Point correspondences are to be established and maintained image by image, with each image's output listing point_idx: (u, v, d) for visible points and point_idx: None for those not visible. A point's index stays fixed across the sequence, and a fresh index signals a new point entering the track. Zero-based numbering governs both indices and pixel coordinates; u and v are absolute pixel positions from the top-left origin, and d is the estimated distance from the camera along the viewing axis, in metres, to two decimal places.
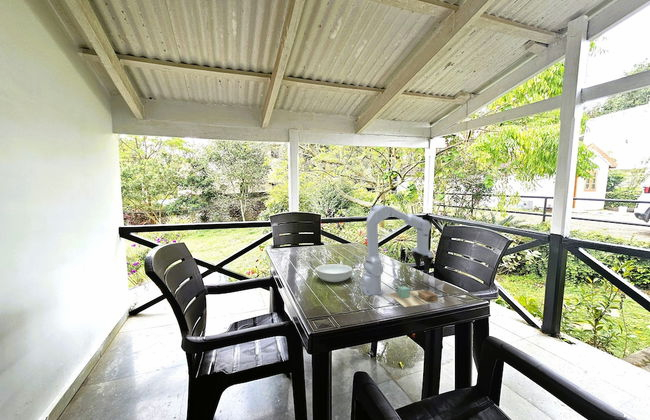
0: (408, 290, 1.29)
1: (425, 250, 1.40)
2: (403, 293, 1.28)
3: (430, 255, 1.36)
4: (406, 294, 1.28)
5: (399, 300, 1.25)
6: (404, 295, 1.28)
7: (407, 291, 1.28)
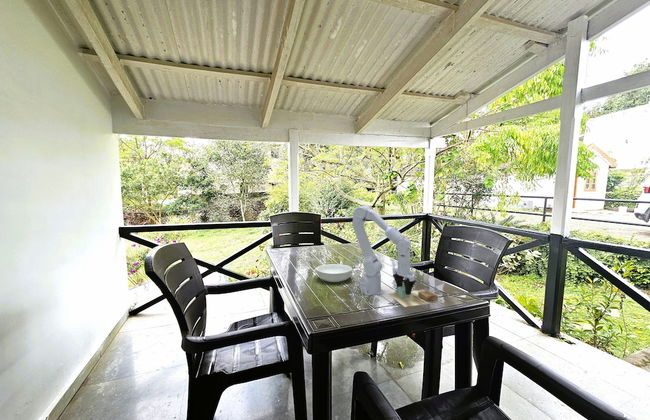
0: None
1: (406, 272, 1.27)
2: (403, 293, 1.28)
3: (411, 279, 1.23)
4: None
5: (399, 300, 1.25)
6: (404, 295, 1.28)
7: None
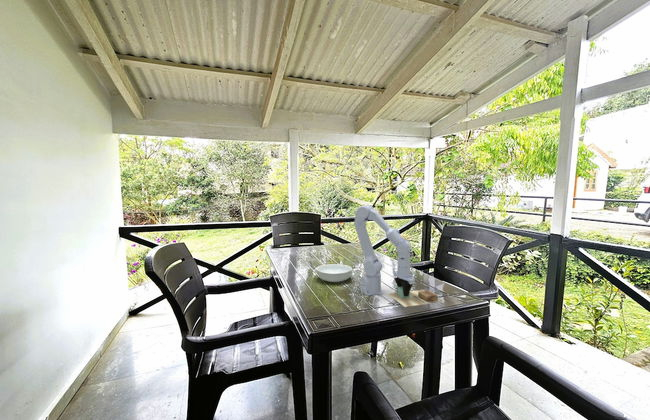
0: None
1: (406, 275, 1.27)
2: None
3: (411, 282, 1.23)
4: None
5: (399, 300, 1.25)
6: None
7: None
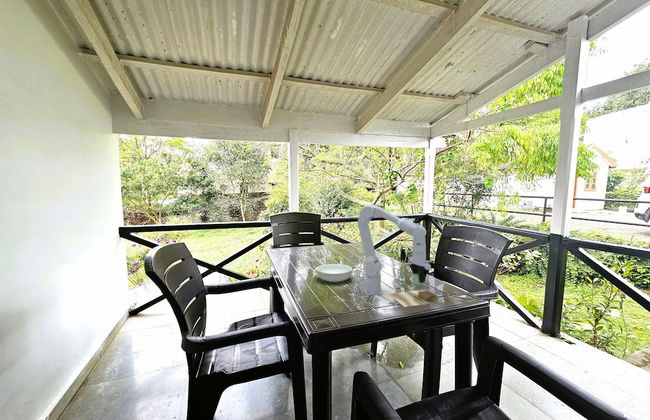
0: None
1: (422, 261, 1.24)
2: (418, 279, 1.25)
3: (428, 267, 1.20)
4: None
5: (399, 300, 1.25)
6: None
7: None
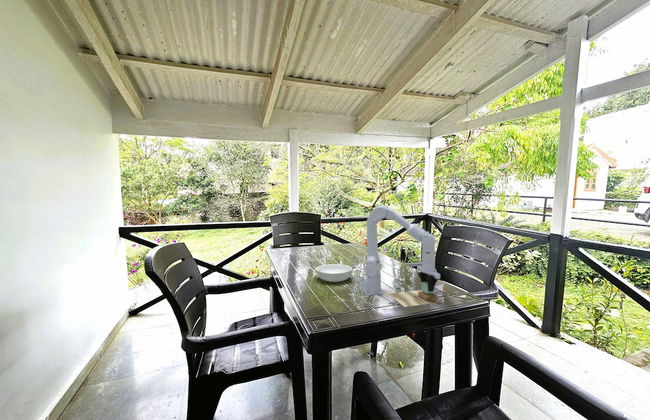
0: None
1: (431, 270, 1.23)
2: (427, 288, 1.24)
3: (437, 276, 1.19)
4: None
5: (399, 300, 1.25)
6: (428, 290, 1.24)
7: None
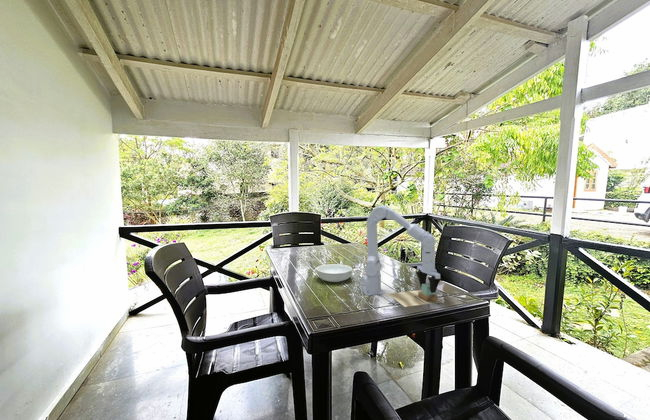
0: None
1: (431, 270, 1.23)
2: (427, 290, 1.24)
3: (437, 276, 1.19)
4: None
5: (399, 300, 1.25)
6: (429, 292, 1.24)
7: None
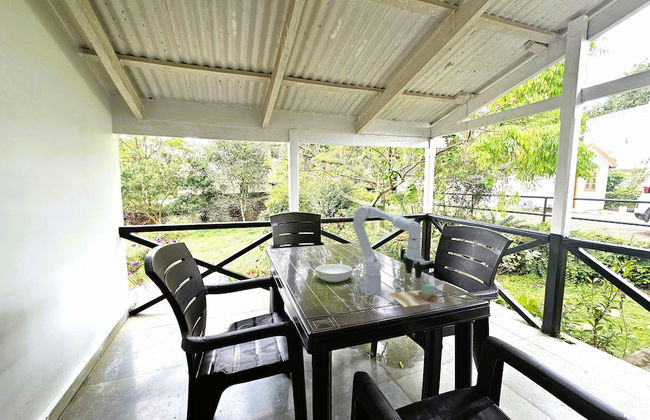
0: (433, 288, 1.25)
1: (417, 256, 1.27)
2: (427, 290, 1.24)
3: (422, 262, 1.23)
4: (431, 291, 1.25)
5: (399, 300, 1.25)
6: (429, 292, 1.24)
7: (431, 288, 1.25)
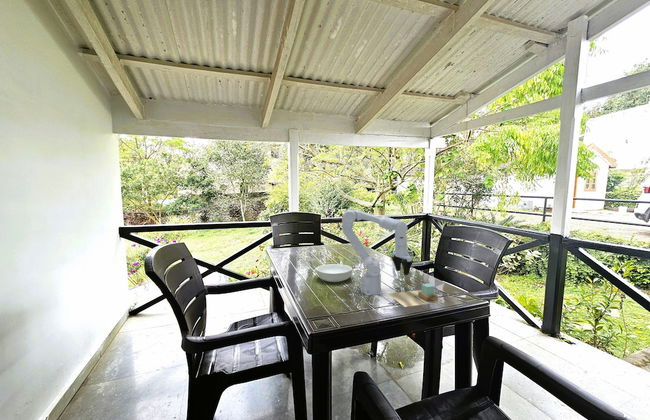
0: (433, 288, 1.25)
1: (404, 254, 1.31)
2: (427, 290, 1.24)
3: (408, 259, 1.27)
4: (431, 291, 1.25)
5: (399, 300, 1.25)
6: (429, 292, 1.24)
7: (431, 288, 1.25)
